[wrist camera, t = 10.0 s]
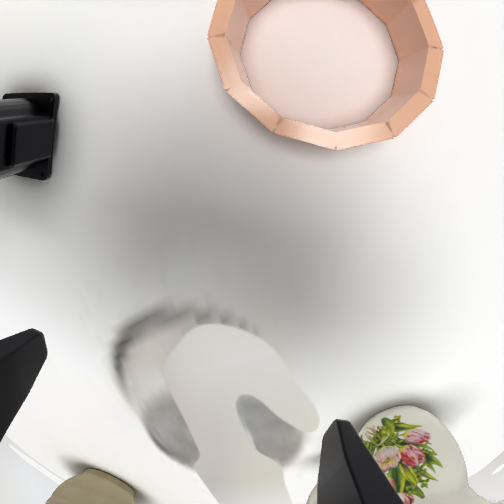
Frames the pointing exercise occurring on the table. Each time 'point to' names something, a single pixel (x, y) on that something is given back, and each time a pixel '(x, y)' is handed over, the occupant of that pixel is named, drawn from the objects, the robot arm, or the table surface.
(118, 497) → the planter bowl
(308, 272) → the table surface
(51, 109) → the robot arm
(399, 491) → the pitcher
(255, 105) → the ring
